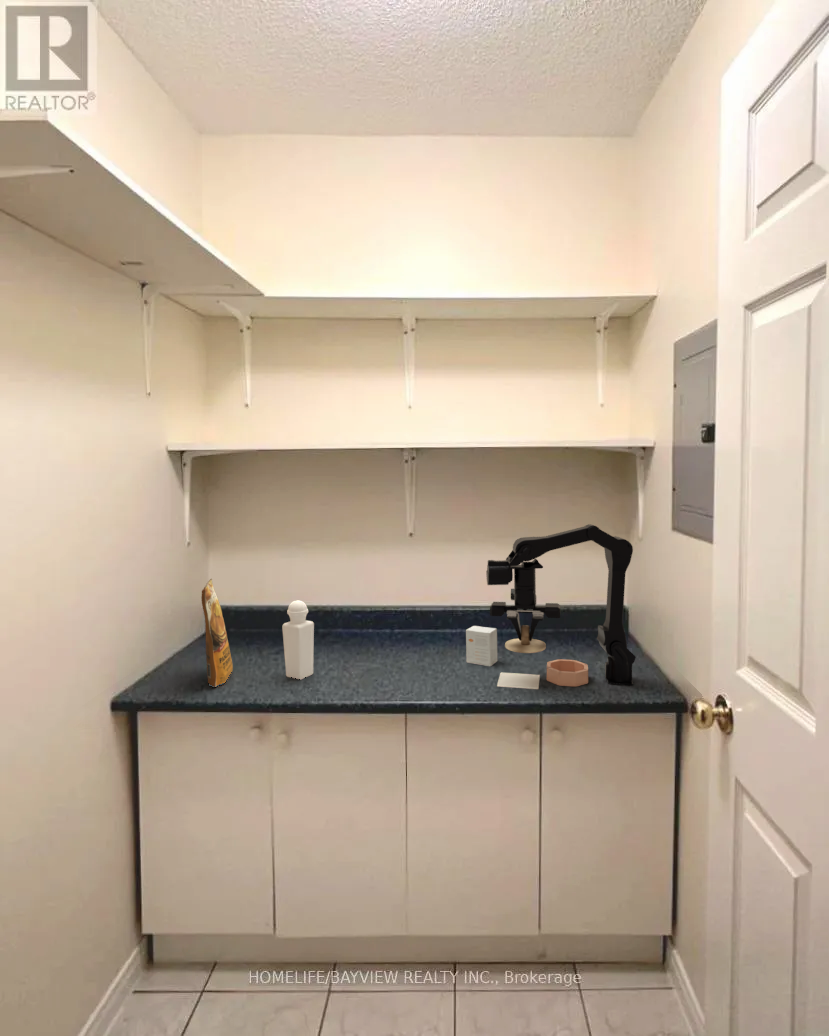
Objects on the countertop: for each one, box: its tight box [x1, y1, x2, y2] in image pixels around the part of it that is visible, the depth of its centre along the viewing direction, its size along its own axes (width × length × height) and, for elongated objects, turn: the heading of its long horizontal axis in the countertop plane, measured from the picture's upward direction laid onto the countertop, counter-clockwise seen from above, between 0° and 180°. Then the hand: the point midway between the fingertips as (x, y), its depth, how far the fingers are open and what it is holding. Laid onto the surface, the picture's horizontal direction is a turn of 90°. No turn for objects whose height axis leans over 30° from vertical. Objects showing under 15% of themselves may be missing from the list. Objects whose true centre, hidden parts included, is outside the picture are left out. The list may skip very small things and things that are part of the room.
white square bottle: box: [281, 599, 315, 681], centre depth 176 cm, size 6×6×22 cm
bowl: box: [546, 658, 589, 688], centre depth 170 cm, size 11×11×4 cm
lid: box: [504, 624, 547, 654], centre depth 168 cm, size 11×11×6 cm
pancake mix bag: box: [200, 578, 234, 687], centre depth 174 cm, size 7×19×28 cm, turn 5°
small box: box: [465, 625, 498, 667], centre depth 185 cm, size 8×6×10 cm
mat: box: [496, 672, 541, 690], centre depth 169 cm, size 11×11×1 cm
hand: (525, 640), depth 168 cm, fingers closed on lid, 2 cm apart
